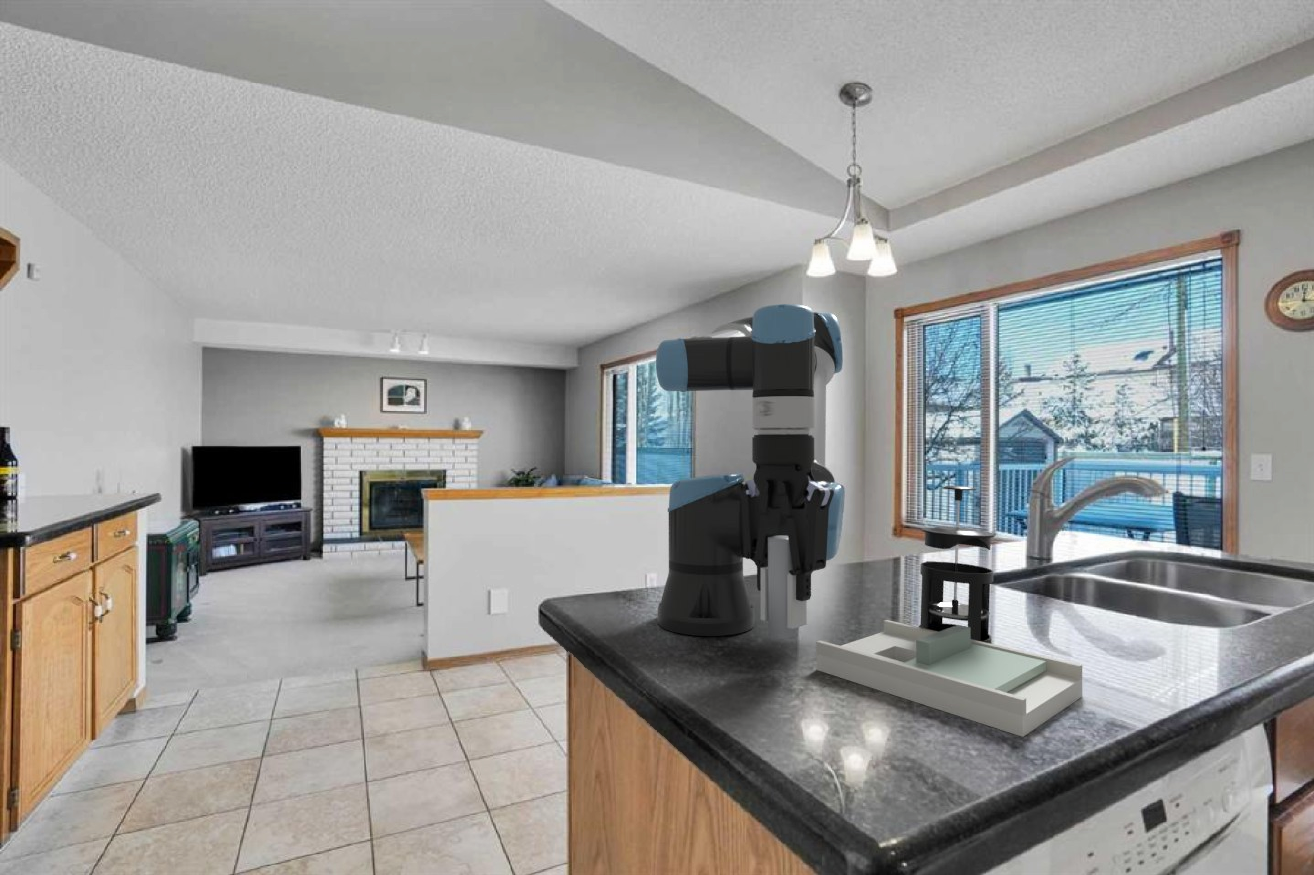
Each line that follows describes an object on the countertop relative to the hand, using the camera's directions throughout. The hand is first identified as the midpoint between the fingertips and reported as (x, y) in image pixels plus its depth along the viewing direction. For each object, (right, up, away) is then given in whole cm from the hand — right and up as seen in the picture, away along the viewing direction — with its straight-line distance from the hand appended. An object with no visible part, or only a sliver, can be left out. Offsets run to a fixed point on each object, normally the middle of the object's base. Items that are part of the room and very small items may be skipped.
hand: (783, 621), depth 81 cm
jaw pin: (0, -2, 0) cm, 2 cm away
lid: (+20, -4, -7) cm, 22 cm away
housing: (+18, -6, -4) cm, 19 cm away
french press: (+24, -7, +8) cm, 26 cm away
